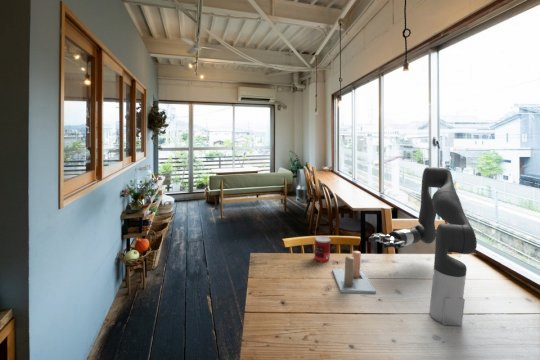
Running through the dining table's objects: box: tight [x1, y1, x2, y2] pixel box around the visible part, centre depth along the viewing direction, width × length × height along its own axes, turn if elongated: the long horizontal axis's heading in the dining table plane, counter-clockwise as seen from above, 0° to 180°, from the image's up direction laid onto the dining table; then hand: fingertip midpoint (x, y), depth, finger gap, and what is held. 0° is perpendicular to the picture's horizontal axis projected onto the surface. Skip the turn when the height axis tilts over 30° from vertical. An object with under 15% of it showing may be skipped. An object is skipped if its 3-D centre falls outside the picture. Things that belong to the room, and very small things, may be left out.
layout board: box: [332, 255, 377, 294], centre depth 119 cm, size 18×14×13 cm
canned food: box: [314, 235, 331, 263], centre depth 141 cm, size 8×8×11 cm
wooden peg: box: [351, 250, 362, 279], centre depth 122 cm, size 3×3×12 cm
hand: (376, 242), depth 125 cm, fingers open, 8 cm apart
